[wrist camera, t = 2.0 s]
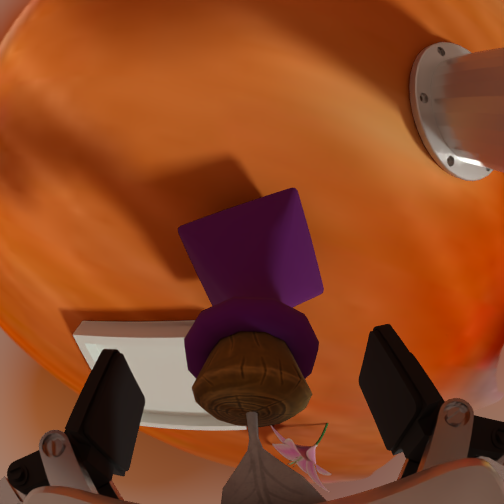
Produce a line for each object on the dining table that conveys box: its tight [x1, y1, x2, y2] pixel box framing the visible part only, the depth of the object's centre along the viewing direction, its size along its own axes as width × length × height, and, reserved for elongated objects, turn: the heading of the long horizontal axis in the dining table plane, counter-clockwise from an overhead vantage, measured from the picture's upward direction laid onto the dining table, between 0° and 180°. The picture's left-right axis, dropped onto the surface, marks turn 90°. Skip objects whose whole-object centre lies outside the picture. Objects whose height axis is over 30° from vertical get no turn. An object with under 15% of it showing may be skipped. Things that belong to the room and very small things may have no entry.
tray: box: [73, 320, 247, 430], centre depth 25 cm, size 15×15×2 cm
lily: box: [271, 423, 331, 492], centre depth 28 cm, size 12×12×10 cm
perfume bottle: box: [178, 188, 326, 504], centre depth 12 cm, size 8×8×18 cm
